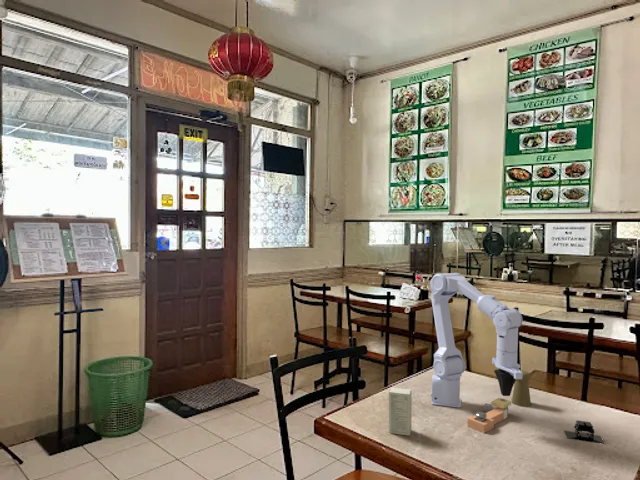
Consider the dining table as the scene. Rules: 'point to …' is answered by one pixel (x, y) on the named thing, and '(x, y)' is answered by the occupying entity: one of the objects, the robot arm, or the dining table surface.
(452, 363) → the robot arm
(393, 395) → the skincare box
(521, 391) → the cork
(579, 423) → the black piece
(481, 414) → the stand
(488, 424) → the link
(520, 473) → the dining table surface
